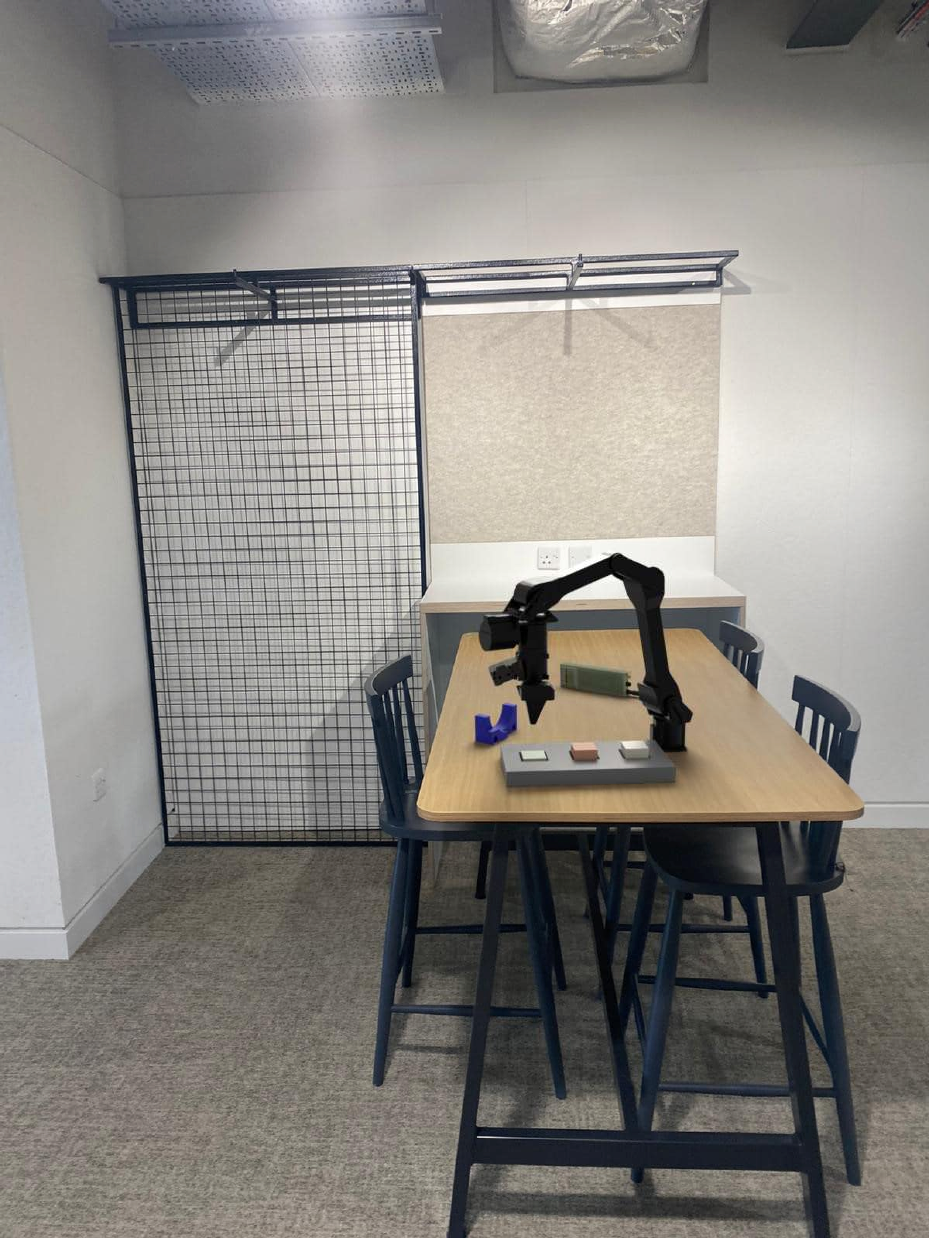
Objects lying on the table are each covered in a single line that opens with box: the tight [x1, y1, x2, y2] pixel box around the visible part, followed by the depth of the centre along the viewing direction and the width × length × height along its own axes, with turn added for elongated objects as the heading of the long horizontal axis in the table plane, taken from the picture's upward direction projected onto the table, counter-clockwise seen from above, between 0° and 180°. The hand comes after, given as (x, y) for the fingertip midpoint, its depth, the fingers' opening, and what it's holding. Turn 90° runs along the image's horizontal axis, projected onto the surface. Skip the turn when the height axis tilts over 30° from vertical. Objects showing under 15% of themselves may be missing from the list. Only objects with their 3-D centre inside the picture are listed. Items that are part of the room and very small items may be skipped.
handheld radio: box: [559, 661, 639, 697], centre depth 226 cm, size 7×3×25 cm
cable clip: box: [474, 702, 518, 746], centre depth 192 cm, size 12×4×6 cm, turn 143°
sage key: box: [521, 751, 546, 762], centre depth 170 cm, size 4×4×2 cm
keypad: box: [499, 739, 677, 788], centre depth 170 cm, size 32×16×3 cm, turn 92°
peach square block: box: [571, 741, 598, 760], centre depth 170 cm, size 4×4×2 cm
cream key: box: [621, 740, 649, 759], centre depth 170 cm, size 4×4×2 cm
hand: (532, 724), depth 169 cm, fingers closed
